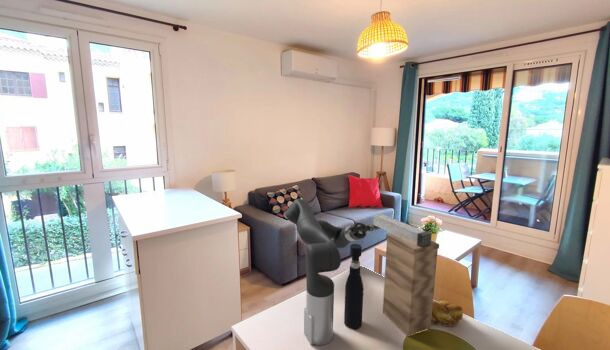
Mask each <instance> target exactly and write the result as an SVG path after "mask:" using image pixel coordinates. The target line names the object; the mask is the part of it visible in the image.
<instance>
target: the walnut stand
mask: <svg viewBox="0 0 610 350" xmlns="http://www.w3.org/2000/svg"><path fill="white" fill-rule="evenodd" d="M385 239H386V247H385V249H386V251H385V252H386V253H385V266H384V281H383V282H384V284H383V301H382V302H383V303H382V313H383V314H384V315H385V316H386V317H387V318H388V319H389V320H390V322H392V323H393V324H394V325H395V326H396V327H397V328H398V329H399V330H400V331H401V332H403V333H404V334H405V335H406V336H407V335H408V336H409V335H411V334H414V333H416V332H419V331H422V330H425V329H430V330H431V328H432V327H431V326H432V323H431V318H432V307H433V301H434V295H435V294H434V293H435V284H436V273H437V262H438V261H437V260H438V251H439V250H438V249H440V244H439V243H437V242H435V241H433V240H431V245H429V246H425V247H420V246H417V245H416V244H413V243H411V242H409V241H407V240H405V239H403V238H401V237H398V236H396V235H394V234H392V233H386V234H385ZM408 336H407V337H408Z"/></svg>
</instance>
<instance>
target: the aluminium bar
mask: <svg viewBox="0 0 610 350" xmlns="http://www.w3.org/2000/svg"><path fill="white" fill-rule="evenodd" d="M373 224H374V225H375V226H377V227H379V228H381V229H382V230H384V231H386V232H388V233H389V234H391V233H392V234H394V235H396V236H398V237H401V238H403V239H405V240H407V241H409V242H411V243H413V244H416V245H417V246H420V247H425V246H429V245H431V241H432V235H433V234H432V232H430V231H427V230H426V231H425V230H423V229H420V228H418V227H415V226H413V225H411V224H407V223H405V222H402V221H400V220H397V219H395V218H394V217H393V218H392V217H390V216H388V215H385V214H383V213H380V214H374V215H373Z"/></svg>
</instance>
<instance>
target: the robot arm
mask: <svg viewBox="0 0 610 350" xmlns="http://www.w3.org/2000/svg"><path fill="white" fill-rule="evenodd" d="M284 215H285V217H286V218H287V220H288V221H290V222H291V223H292V224H294V225H296V230H297V233H298V235H299V236H298V237H299V238H300V239H301V241H302V242H303V243H305V244H306V245H307V246H306V248H305V273H306V277H305V279H306V280H305V281H306V282H305V283H306V306H305V308H303V310H304V312H303V334H304V336H305V337H306V339H307V341H308V342H309V345H317V346H324V345H327V344H329V343H330V342H332V340H333V338H334V337H333V336H334V309H335V308H334V305H335V303H334V302H335V301H334V300H335V282H334V280H332V279H331V277H329V276H327V275H324V274H320V273H328V272H334V271H337V270H338V269H339V268H340V266H341V263H342V260H341V254H340V250H339V249H344V248H345V247H347V246H348V245H349V244H350V243H351V242H354V241H355V242H356V241H359V240H362V239H364V238H366V236H367V234H368V233H370V232H371V233H372V232H375V231H377V230H380V229H381V228H379V227H377V226H375V225H374V222H371V223H367V224H366V223H362V222H355V223H353V224H350V225H348V226H347V227H345V228H344V227H339V226H335V225H333V224H331V223H330V222H328V221H326V220H321V219H317V218H316V217H315V215H314V213H313V210H312V208H311V206H310V205H309V204H308V202H307V201H305V200H304V199H302V198H296V199H295V200H294V201H293V202H292V203H291V204H290V206H289V207H288V208H287V209H286V211H285V213H284Z"/></svg>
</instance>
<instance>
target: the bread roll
mask: <svg viewBox="0 0 610 350" xmlns="http://www.w3.org/2000/svg"><path fill="white" fill-rule="evenodd" d="M463 316H464V312H463V307H462V306H460V305H458V304H453V303H451V302H449V301H447V300H444V299H443V300H440V301H436V300H435V301H434V300H433V307H432V318H431V324H440V325H442V326H445V327H454V326H457V324H458V323H459V321H461V320H462V319H463Z"/></svg>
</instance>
